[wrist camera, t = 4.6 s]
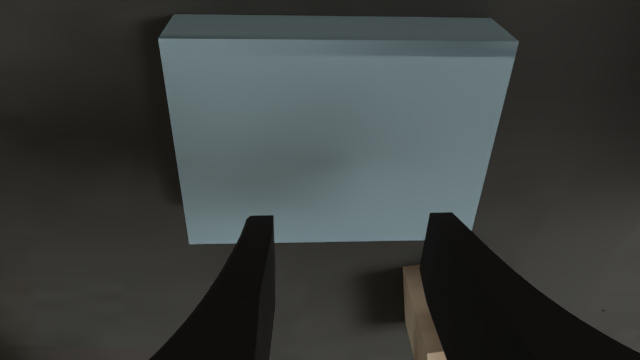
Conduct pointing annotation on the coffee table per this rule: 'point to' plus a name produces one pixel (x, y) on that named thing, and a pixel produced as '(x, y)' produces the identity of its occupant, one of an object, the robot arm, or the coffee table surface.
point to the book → (332, 121)
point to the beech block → (419, 318)
